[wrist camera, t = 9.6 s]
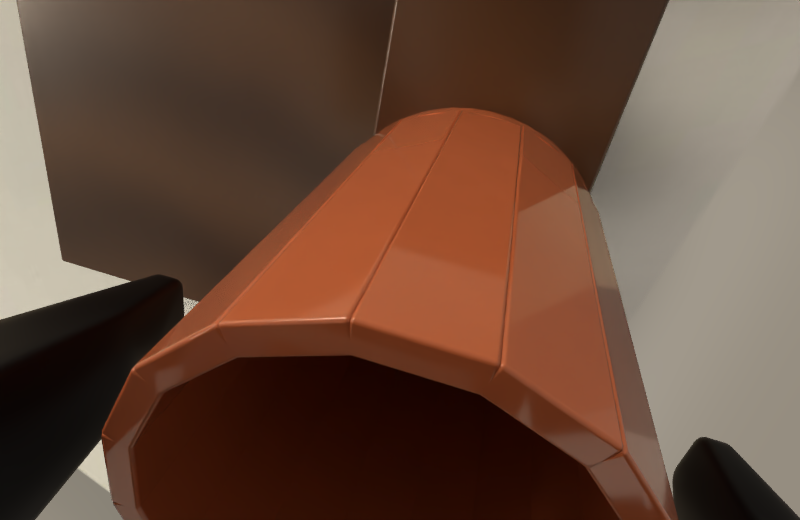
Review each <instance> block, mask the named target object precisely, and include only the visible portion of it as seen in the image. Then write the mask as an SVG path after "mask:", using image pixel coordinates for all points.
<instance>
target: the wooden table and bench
mask: <svg viewBox="0 0 800 520" xmlns="http://www.w3.org/2000/svg"><path fill="white" fill-rule="evenodd" d="M668 2H669V0H17V6H18V12H19V17H20V23H21V29H22V34H23V40H24V46H25V51H26V57H27V63H28V68H29V74H30V80H31V85H32V91H33V97H34V102H35V108H36V114H37V119H38V125H39V131H40V136H41V142H42V148H43V153H44V159H45V165H46V170H47V176H48V182H49V187H50V193H51V199H52V204H53V210H54V216H55V221H56V227H57V233H58V238H59V244H60V250H61V255H62V260H63V261H66V262H69V263H73V264H76V265H79V266H83V267H86V268H89V269H93V270H96V271H99V272H102V273H106V274H109V275H112V276H116V277H119V278H122V279H125V280H129V281H135V280H138V279H142V278H145V277H149V276H152V275H156V274H161V275H165V276H169V277H172V278H175V279H178V280H179V281H180V282H181V283H182V285H183V297H185V298H188V299H191V300H195V301H198V302H200V301H201V300H202V299H203V298H204V297H205V296H206V295H207V294H208V293H209V292H210V291H211V290H212V289H213V288H214V287H215V286H216V285H217V284H218V283H219V282H220V281H221V280H222V279H223V278H224V277H225V276H226V275H227V274H228V273H229V272H230V271H231V270H232V269H234V268H235V267H236V266H237V265H238V264H239V263H240V262H241V261H242V260H243V259H244V258H245V257H246V256H247V255H248V254H249V253H250V252H251V251H252V250H253V249H254V248H255V247H256V246H257V245H258V244H259V243H260V242H261V241H262V240H263V239H264V238H265V237H266V236H267V235H268V234H269V233H270V232H271V231H272V230H273V229H274V228H275V227H276V226H277V225H278V224H279V223H280V222H281V221H282V220H283V219H284V218H285V217H287V216H288V215H289V214H290V213H291V212H292V211H293V210H294V209H295V208H296V207H297V206H298V205H299V204H300V203H301V202H302V201H303V200H304V199H305V198H306V197H307V196H308V195H309V194H310V193H311V192H312V191H313V190H314V189H315V188H316V187H317V186H318V185H319V184H320V183H321V182H322V181H323V180H324V179H325V178H326V177H327V176H328V175H329V174H330V173H331V172H332V171H333V170H334V169H335V168H336V167H337V166H338V165H340V164H341V163H342V162H343V161H344V160H345V159H346V158H347V157H348V156H349V155H350V154H351V153H352V152H353V151H354V150H355V149H356V148H357V147H359V146H360V145H362V144H363V143H365V142H367V141H368V140H369V139H370V138H371V137H373V136H374V135H375V134H377V133H378V132H379V131H381V130H382V129H383V128H385V127H387V126H389V125H391V124H393V123H394V122H396V121H398V120H400V119H403V118H406V117H408V116H411V115H414V114H416V113H421V112H425V111H430V110H434V109H445V108H473V109H479V110H485V111H490V112H495V113H498V114H501V115H504V116H507V117H510V118H513V119H515V120H517V121H519V122H522V123H524V124H526V125H528V126H530V127H532V128H533V129H535V130H536V131H538V132H539V133H541V134H542V135H544V136H545V137H547V138H548V139H549V140H550V141H552V142H553V143H554V144H555V145H556V146H557V147H558V148H560V149H561V150H562V151H563V152H564V154H565V155H566V156H567V157H568V158H569V159H570V161H571V162H572V163H573V164H574V165H575V167H576V168H577V170H578V172H579V173H580V175H581V176H582V178H583V180H584V181H585V183H586V186H587V188H588V190H589V193H590V192H591V190H592V187H593V185H594V183H595V180H596V178H597V175H598V173H599V170H600V168H601V165H602V163H603V161H604V158H605V156H606V153H607V151H608V148H609V146H610V143H611V141H612V139H613V136H614V134H615V131H616V129H617V126H618V124H619V121H620V119H621V117H622V114H623V112H624V109H625V107H626V104H627V102H628V100H629V97H630V95H631V92H632V90H633V87H634V85H635V82H636V80H637V78H638V75H639V73H640V70H641V68H642V65H643V63H644V60H645V58H646V56H647V53H648V51H649V48H650V46H651V43H652V41H653V38H654V36H655V34H656V31H657V29H658V26H659V24H660V21H661V19H662V16H663V14H664V12H665V9H666V7H667V4H668Z"/></svg>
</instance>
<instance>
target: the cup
mask: <svg viewBox="0 0 800 520" xmlns="http://www.w3.org/2000/svg"><path fill="white" fill-rule="evenodd" d="M101 439H102V445H103V451H104V457H105V463H106V469H107V475H108V482H109V488H110V494H111V500H113V504H114V506H115V507H116V509H117V511H118V512H119V514H120V515H121V517H122V518H123V520H679V519H678V515H677V512H676V508H675V504H674V500H673V496H672V492H671V489H670V485H669V481H668V477H667V473H666V470H665V465H664V462H663V458H662V454H661V450H660V447H659V443H658V439H657V435H656V431H655V427H654V423H653V419H652V415H651V412H650V408H649V404H648V400H647V396H646V392H645V389H644V385H643V381H642V378H641V373H640V369H639V365H638V362H637V358H636V354H635V350H634V346H633V342H632V339H631V335H630V331H629V327H628V323H627V319H626V315H625V312H624V308H623V304H622V300H621V296H620V292H619V289H618V285H617V281H616V277H615V273H614V269H613V265H612V262H611V258H610V254H609V250H608V246H607V242H606V239H605V235H604V231H603V227H602V223H601V219H600V216H599V212H598V210H597V208H596V206H595V204H594V203H593V201H592V197H591V195H590V193H589V190H588V188H587V186H586V183H585V181H584V180H583V178H582V176H581V175H580V173H579V172H578V170H577V168H576V167H575V165H574V164H573V163H572V162H571V161H570V159H569V158H568V157H567V156H566V155H565V154H564V152H563V151H562V150H561V149H560V148H558V147H557V146H556V145H555V144H554V143H553V142H552V141H550V140H549V139H548V138H547V137H545V136H544V135H542V134H541V133H539V132H538V131H536V130H535V129H533V128H532V127H530V126H528V125H526V124H524V123H522V122H519V121H517V120H515V119H513V118H510V117H507V116H504V115H501V114H498V113H495V112H490V111H485V110H479V109H473V108H445V109H434V110H430V111H425V112H421V113H416V114H414V115H411V116H408V117H406V118H403V119H400V120H398V121H396V122H394V123H393V124H391V125H389V126H387V127H385V128H383V129H382V130H381V131H379V132H378V133H377V134H375V135H374V136H373V137H371V138H370V139H369V140H368V141H367V142H365V143H363V144H362V145H360V146H359V147H357V148H356V149H355V150H354V151H353V152H352V153H351V154H350V155H349V156H348V157H347V158H346V159H345V160H344V161H343V162H342V163H341V164H340V165H338V166H337V167H336V168H335V169H334V170H333V171H332V172H331V173H330V174H329V175H328V176H327V177H326V178H325V179H324V180H323V181H322V182H321V183H320V184H319V185H318V186H317V187H316V188H315V189H314V190H313V191H312V192H311V193H310V194H309V195H308V196H307V197H306V198H305V199H304V200H303V201H302V202H301V203H300V204H299V205H298V206H297V207H296V208H295V209H294V210H293V211H292V212H291V213H290V214H289V215H288V216H287V217H285V218H284V219H283V220H282V221H281V222H280V223H279V224H278V225H277V226H276V227H275V228H274V229H273V230H272V231H271V232H270V233H269V234H268V235H267V236H266V237H265V238H264V239H263V240H262V241H261V242H260V243H259V244H258V245H257V246H256V247H255V248H254V249H253V250H252V251H251V252H250V253H249V254H248V255H247V256H246V257H245V258H244V259H243V260H242V261H241V262H240V263H239V264H238V265H237V266H236V267H235V268H234V269H232V270H231V271H230V272H229V273H228V274H227V275H226V276H225V277H224V278H223V279H222V280H221V281H220V282H219V283H218V284H217V285H216V286H215V287H214V288H213V289H212V290H211V291H210V292H209V293H208V294H207V295H206V296H205V297H204V298H203V299H202V300H201V301H200V302H199V303H198V304H197V305H196V306H195V307H194V308H193V309H192V310H191V311H190V312H189V313H188V314H187V315H186V316H185V317H184V318H183V319H182V320H181V321H179V322H178V323H177V324H176V325H175V326H174V327H173V328H172V329H171V330H170V331H169V332H168V333H167V334H166V335H165V336H164V337H163V338H162V339H161V340H160V341H159V342H158V343H157V344H156V345H155V346H154V347H153V348H152V349H151V350H150V351H149V352H148V353H147V354H146V355H145V356H144V357H143V358H142V359H141V360H140V361H139V362H138V363H137V364H136V365H135V366H134V367H133V368H132V369H131V371H130V373H129V375H128V377H127V379H126V381H125V383H124V385H123V387H122V389H121V391H120V394H119V396H118V398H117V400H116V402H115V404H114V406H113V408H112V410H111V412H110V414H109V416H108V418H107V420H106V422H105V424H104V426H103V429H102V435H101Z"/></svg>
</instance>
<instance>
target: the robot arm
mask: <svg viewBox="0 0 800 520" xmlns="http://www.w3.org/2000/svg"><path fill="white" fill-rule="evenodd" d="M183 318H184V303H183V285H182V283H181V282H180V281H179V280H178V279H175V278H172V277H169V276H165V275H161V274H156V275H152V276H149V277H145V278H142V279H138V280H135V281H132V282H128V283H125V284H121V285H118V286H115V287H111V288H108V289H104V290H101V291H97V292H94V293H91V294H87V295H84V296H80V297H77V298H73V299H70V300H67V301H63V302H60V303H56V304H53V305H49V306H46V307H43V308H39V309H36V310H32V311H29V312H25V313H22V314H19V315H15V316H12V317H8V318H5V319H1V320H0V520H35V519H36V518H37V517H38V515H39V514H40V513H41V512H42V511H43V509H44V508H45V507H46V506H47V504H48V503H49V502H50V501H51V500H52V498H53V497H54V496H55V495H56V494H57V492H58V491H59V490H60V489H61V487H62V486H63V485H64V484H65V483H66V481H67V480H68V479H69V478H70V477H71V475H72V474H73V473H74V472H75V470H76V469H77V468H78V467H79V466H80V464H81V463H82V462H83V461H84V459H85V458H86V457H87V456H88V455H89V453H90V452H91V451H92V450H93V449H94V447H95V446H96V445H97V444H98V442H99V441H100V440H101V435H102V429H103V426H104V424H105V422H106V420H107V418H108V416H109V414H110V412H111V410H112V408H113V406H114V404H115V402H116V400H117V398H118V396H119V394H120V391H121V389H122V387H123V385H124V383H125V381H126V379H127V377H128V375H129V373H130V371H131V369H132V368H133V367H134V366H135V365H136V364H137V363H138V362H139V361H140V360H141V359H142V358H143V357H144V356H145V355H146V354H147V353H148V352H149V351H150V350H151V349H152V348H153V347H154V346H155V345H156V344H157V343H158V342H159V341H160V340H161V339H162V338H163V337H164V336H165V335H166V334H167V333H168V332H169V331H170V330H171V329H172V328H173V327H174V326H175V325H176V324H177V323H178V322H179V321H181V320H182V319H183ZM673 500H674V504H675V508H676V512H677V515H678V519H679V520H800V518H799V517H798V516H797V515H796V514H795V513H794V511H793V510H792V509H791V508H790V507H789V506H788V505H787V504H786V503H785V502H784V501H783V500H782V499H781V498H780V497H779V496H778V495H777V494H776V493H775V492H774V491H773V490H772V488H771V487H770V486H769V485H768V484H767V483H766V482H765V481H764V480H763V479H762V478H761V477H760V476H759V475H758V474H757V473H756V472H755V471H754V470H753V469H752V468H751V467H750V466H749V465H748V464H747V462H746V461H745V460H743V458H742V457H741V456H740V455H739V454H738V453H737V452H736V451H735V450H734V449H733V448H732V447H731V446H730V445H728V444H726V443H723V442H720V441H717V440H713V439H710V438H707V437H700V438H698V439H697V440H696V441H695V442H694V443H693V445H692V446H691V447H690V449H689V450H688V452H687V453H686V454H685V456H684V457H683V459H682V460H681V461H680V463H679V464H678V465H677V467H676V469H675V471H674V475H673Z"/></svg>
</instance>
